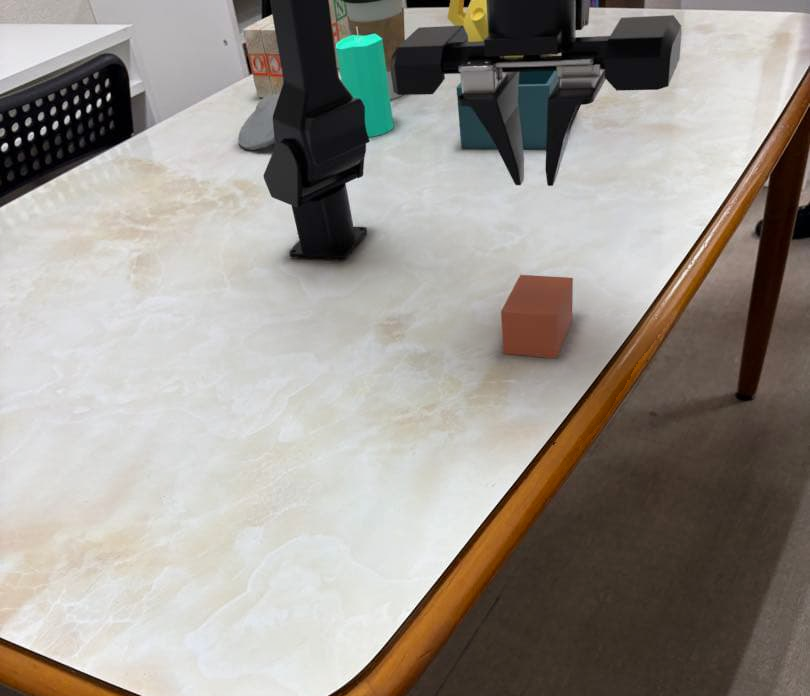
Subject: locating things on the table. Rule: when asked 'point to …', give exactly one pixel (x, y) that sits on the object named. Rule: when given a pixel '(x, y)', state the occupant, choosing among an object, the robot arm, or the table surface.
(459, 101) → the robot arm
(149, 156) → the table surface
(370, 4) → the coffee cup
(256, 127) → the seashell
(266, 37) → the stack of blocks
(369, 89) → the candle
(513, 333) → the reddish brown block
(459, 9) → the teapot
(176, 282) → the table surface
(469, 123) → the open box
